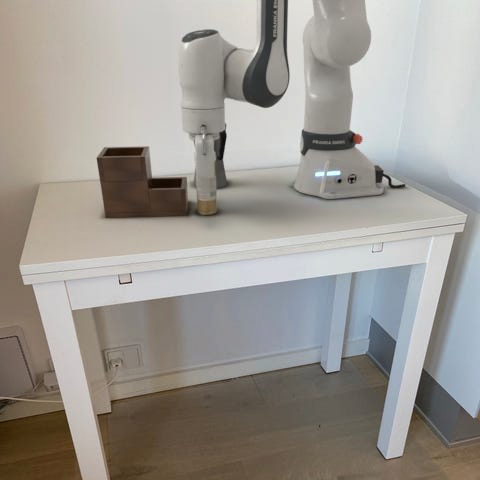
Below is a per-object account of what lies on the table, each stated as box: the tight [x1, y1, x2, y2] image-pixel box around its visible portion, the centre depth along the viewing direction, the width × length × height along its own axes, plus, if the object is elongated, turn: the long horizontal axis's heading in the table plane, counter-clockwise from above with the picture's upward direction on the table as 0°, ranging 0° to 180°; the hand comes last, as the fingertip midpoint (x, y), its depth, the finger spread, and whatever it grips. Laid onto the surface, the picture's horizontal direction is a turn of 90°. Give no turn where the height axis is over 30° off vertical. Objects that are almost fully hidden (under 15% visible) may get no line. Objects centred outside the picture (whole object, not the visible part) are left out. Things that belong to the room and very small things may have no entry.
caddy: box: [96, 145, 189, 219], centre depth 111 cm, size 18×10×13 cm, turn 94°
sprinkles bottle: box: [193, 151, 218, 216], centre depth 109 cm, size 5×5×13 cm
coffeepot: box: [193, 122, 228, 189], centre depth 125 cm, size 15×9×18 cm, turn 29°
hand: (206, 187), depth 109 cm, fingers closed on sprinkles bottle, 4 cm apart
